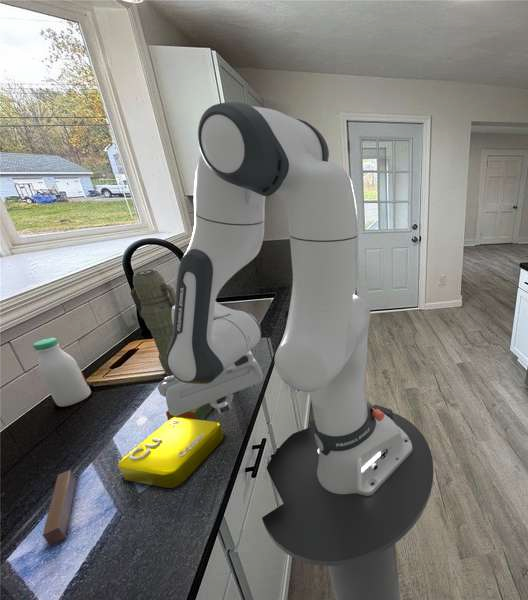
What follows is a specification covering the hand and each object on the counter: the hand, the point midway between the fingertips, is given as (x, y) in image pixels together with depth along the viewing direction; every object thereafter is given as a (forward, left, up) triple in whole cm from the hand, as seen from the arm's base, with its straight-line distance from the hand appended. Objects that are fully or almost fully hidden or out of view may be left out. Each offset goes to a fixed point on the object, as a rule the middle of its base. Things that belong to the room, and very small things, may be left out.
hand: (224, 410), depth 78 cm
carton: (+4, -17, -7) cm, 18 cm away
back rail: (+31, 0, -7) cm, 31 cm away
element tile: (+12, 0, -7) cm, 13 cm away
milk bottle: (+34, -48, -7) cm, 59 cm away
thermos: (+7, -44, -7) cm, 45 cm away
